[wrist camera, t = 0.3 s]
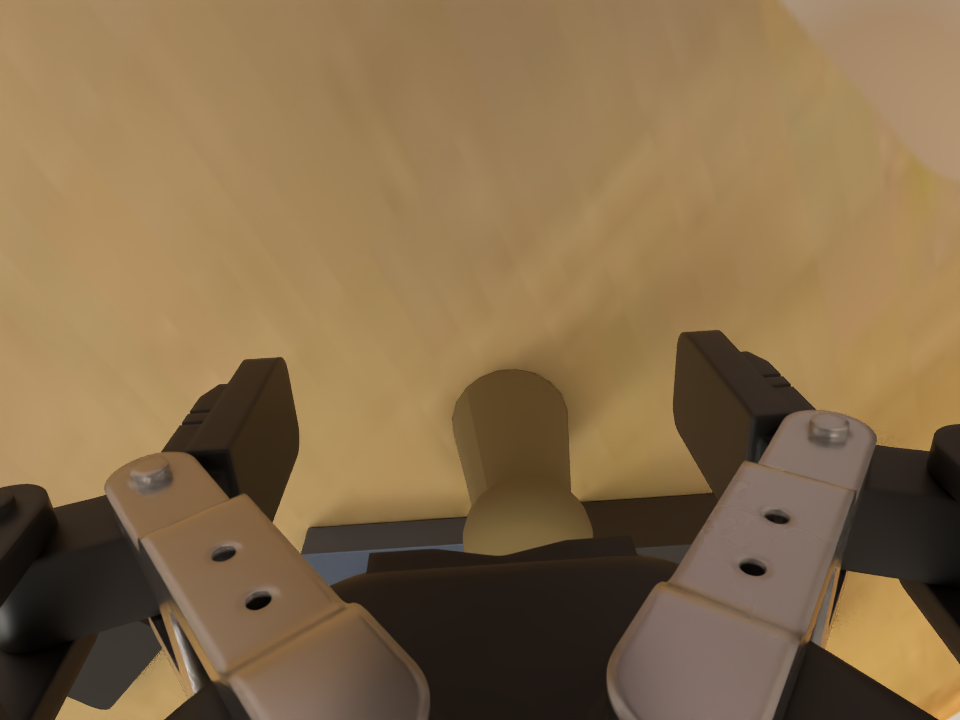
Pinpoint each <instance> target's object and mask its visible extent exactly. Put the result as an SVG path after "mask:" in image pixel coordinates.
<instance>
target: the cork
mask: <svg viewBox="0 0 960 720" xmlns="http://www.w3.org/2000/svg"><path fill="white" fill-rule="evenodd" d="M452 421H453V430H454V436H455V440H456V444H457V448H458V452H459V456H460V460H461V464H462V468H463V472H464V476H465V480H466V484H467V488H468V492H469V496H470V500H471V503H472V507H471V509H470V511H469V514H468V517H467V520H466V523H465V527H464V530H463V548H464V552H468V553H477V554H485V555H495V556H502V555H508V554H512V553H516V552H520V551H524V550H528V549H532V548H536V547H540V546H544V545H548V544H552V543H556V542H560V541H564V540H571V539H586V538H593V530H592V526H591V523H590V520H589V518H588V516H587V513H586V511H585V508H584V506H583V505H582V504H581V503H580V501H579V500H578V499H577V498H576V497H575V496H574V495H573V494H572V493H571V481H570V459H569V437H568V415H567V407H566V405H565V402H564V400H563V397H562V395H561V393H560V392H559V391H558V390H557V389H556V388H555V387H554V386H553V385H552V383H551V382H549V381H548V380H546V379H544V378H542V377H540V376H538V375H537V374H535V373H531V372H526V371H521V370H505V371H497V372H494V373H491V374H489V375H486V376H483V377H481V378H479V379H478V380H477V381H475V382H474V383H473V384H471V385H470V386H469V387H467V388H466V389H465V391H464V392H463V394H462V395H461V397H460V398H459V400H458V401H457V402H456V406H455V410H454V414H453V417H452Z"/></svg>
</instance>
